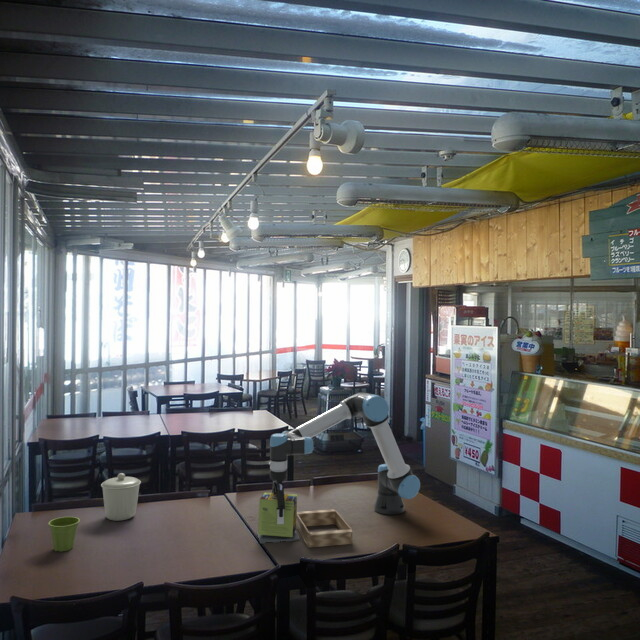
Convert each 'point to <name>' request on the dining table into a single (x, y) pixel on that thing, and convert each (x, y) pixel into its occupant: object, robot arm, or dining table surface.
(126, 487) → the canister
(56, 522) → the plant pot
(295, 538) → the mat
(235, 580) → the dining table surface
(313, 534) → the open wooden box
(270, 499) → the protein box
